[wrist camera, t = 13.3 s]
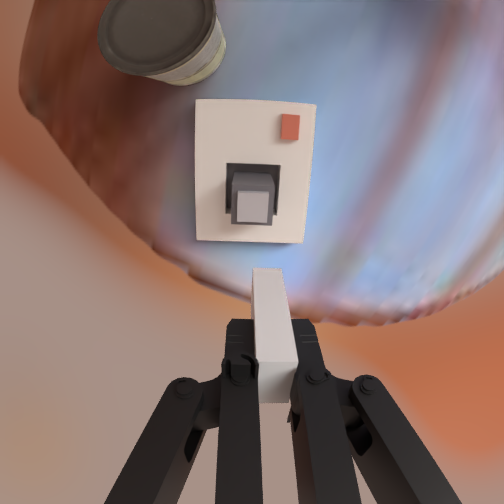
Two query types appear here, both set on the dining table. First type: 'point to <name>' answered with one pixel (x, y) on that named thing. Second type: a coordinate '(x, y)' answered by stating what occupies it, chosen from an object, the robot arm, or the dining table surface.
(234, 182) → the plug
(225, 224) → the socket plate
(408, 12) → the dining table surface
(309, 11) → the dining table surface
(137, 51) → the coffee can
